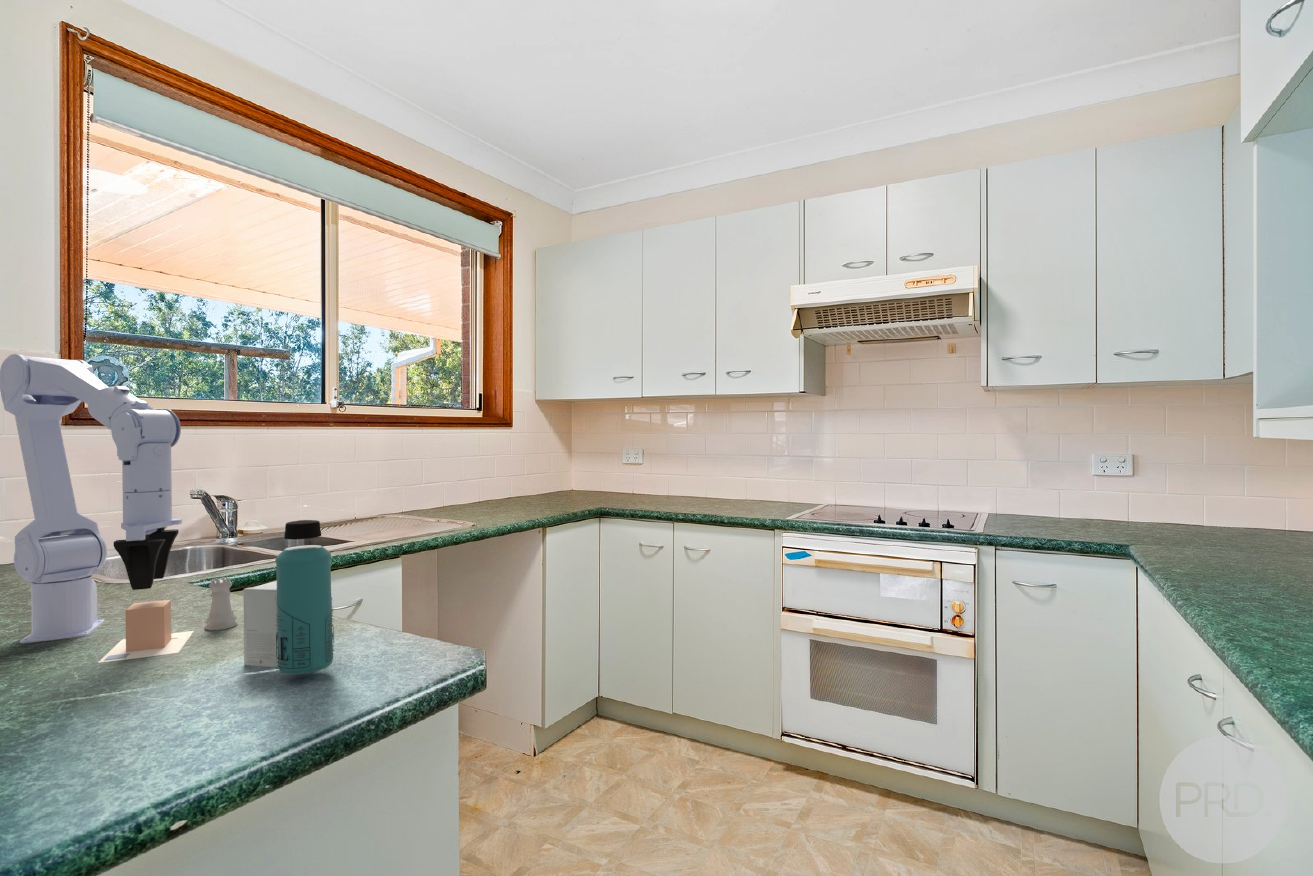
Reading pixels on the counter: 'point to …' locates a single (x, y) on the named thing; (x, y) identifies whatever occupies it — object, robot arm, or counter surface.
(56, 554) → the robot arm
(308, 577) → the beverage bottle
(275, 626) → the small box
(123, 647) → the letter
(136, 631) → the block
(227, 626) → the rook chess piece
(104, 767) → the counter surface
